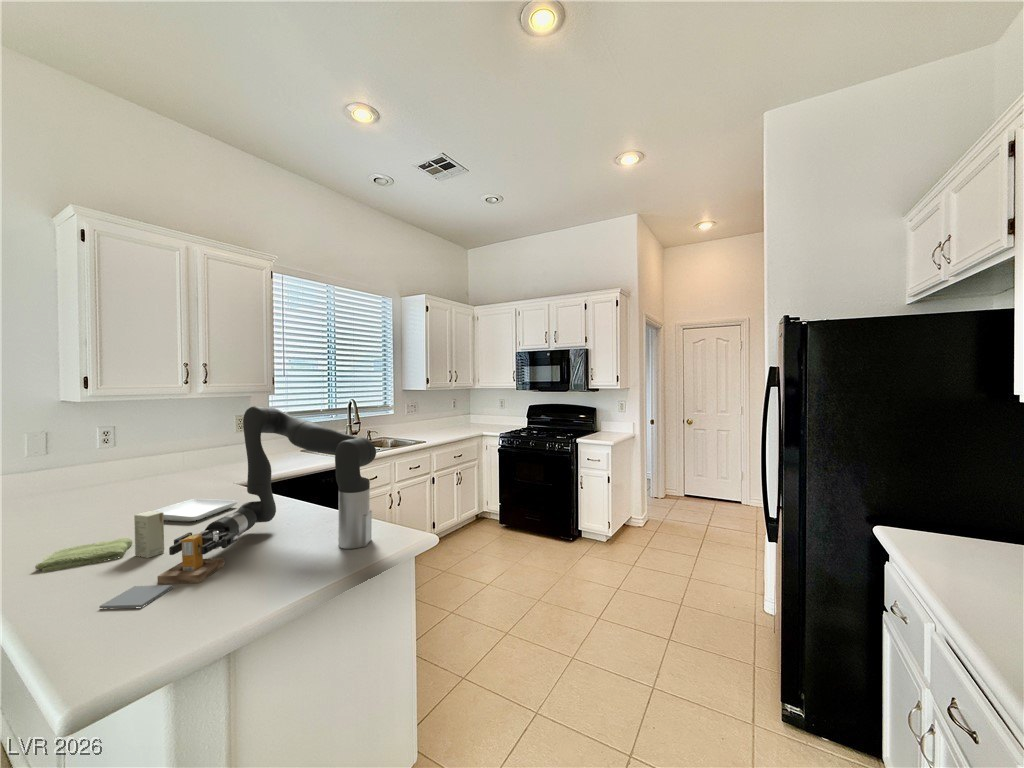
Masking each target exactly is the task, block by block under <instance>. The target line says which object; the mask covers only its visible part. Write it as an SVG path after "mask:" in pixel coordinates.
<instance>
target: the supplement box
mask: <svg viewBox="0 0 1024 768" xmlns="http://www.w3.org/2000/svg"><path fill="white" fill-rule="evenodd" d="M201 547H202V535H194V534H192V536H188V537H187V538H185V539H183V540H182V551H181V560H182V561H181V562H182V563H183V571H195V570H197V569H199V568H200V567H202V566H203V559H204V554H201Z"/></svg>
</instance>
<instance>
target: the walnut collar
mask: <svg viewBox="0 0 1024 768" xmlns="http://www.w3.org/2000/svg"><path fill="white" fill-rule="evenodd" d="M224 566H225V558H224V557H223V558H218V557H217V558H203V566H202V567H200V568H199V569H197V570H195V571H183V563H182V561H181V562H179V563H178V564H176V565H175V566H173V567H171V568H169V569H168V570H166V571H164V572H162V573H160V574H158V575H157V585H168V584H167V583H178V584H200V583H201V582H202V581H204V580H205V579H207V578H208V577H210V576H211V575H213V574H214V573H215V571H216V572H217V571H219V570H220V569H221V568H223V567H224ZM212 573H213V574H212ZM162 583H164V584H162Z"/></svg>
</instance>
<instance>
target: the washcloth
mask: <svg viewBox="0 0 1024 768" xmlns="http://www.w3.org/2000/svg"><path fill="white" fill-rule="evenodd" d="M132 545H133V540H132V539H131V538H130V537H121V538H117V539H114V540H108V541H107V540H106V541H100V542H96V543H95V542H93V543H90V544H89V543H88V544H83V545H78V546H72V547H67V548H63V549H60V550H58V551H55V552H53V553H51V554H50V555H49V556H47V557H45V558H43V560H42V561H41V562H39V563H37V564H36V565H35V570H42V573H47V572H48V573H49V572H51V571H52V572H53V571H58V570H62V569H68V568H69V569H70V568H74V567H73V566H75V567H79V565H80V566H85V565H84V564H86V565H89V564H88V563H91V564H94V563H93V562H97V563H100V562H99V561H101V562H105V561H104V560H108V559H113V560H115V559H114V558H118V557H121V558H122V557H124V555H125V553H127V551H128V549H129V548H130V547H131V546H132ZM118 559H119V558H118ZM108 561H109V560H108Z"/></svg>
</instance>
